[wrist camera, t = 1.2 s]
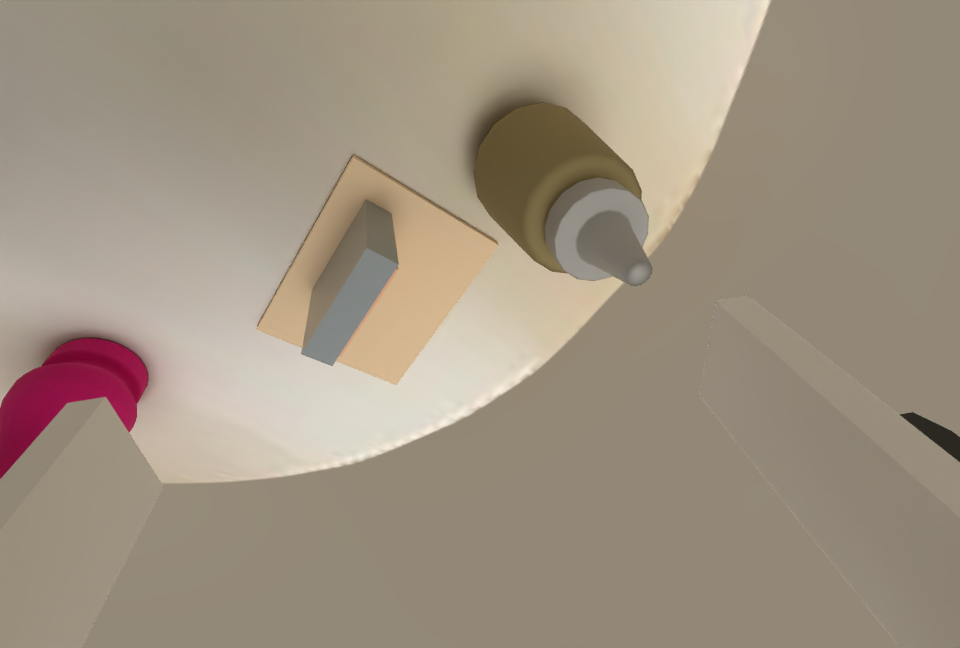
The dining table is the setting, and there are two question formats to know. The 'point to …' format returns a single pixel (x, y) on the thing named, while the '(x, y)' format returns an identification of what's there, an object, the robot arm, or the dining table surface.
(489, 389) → the dining table surface
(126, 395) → the pepper mill
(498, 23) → the dining table surface
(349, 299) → the tile
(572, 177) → the squeeze bottle
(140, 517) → the robot arm
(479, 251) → the mat
